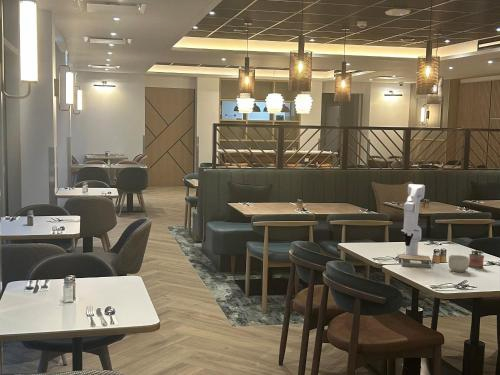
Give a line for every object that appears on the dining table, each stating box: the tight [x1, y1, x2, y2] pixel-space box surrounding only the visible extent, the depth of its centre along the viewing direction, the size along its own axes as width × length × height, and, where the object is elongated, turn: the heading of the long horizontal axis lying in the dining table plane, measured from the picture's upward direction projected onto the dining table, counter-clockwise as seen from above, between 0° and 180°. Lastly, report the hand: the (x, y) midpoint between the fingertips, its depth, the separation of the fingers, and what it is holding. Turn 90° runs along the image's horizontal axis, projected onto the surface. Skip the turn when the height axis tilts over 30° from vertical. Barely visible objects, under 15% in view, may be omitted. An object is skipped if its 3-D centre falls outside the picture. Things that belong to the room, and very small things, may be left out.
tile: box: [410, 260, 422, 264], centre depth 344 cm, size 5×6×2 cm
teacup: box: [448, 254, 469, 273], centre depth 337 cm, size 14×11×8 cm
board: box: [397, 253, 432, 264], centre depth 356 cm, size 12×18×2 cm
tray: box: [400, 259, 432, 269], centre depth 345 cm, size 10×16×2 cm, turn 80°
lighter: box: [468, 249, 485, 270], centre depth 345 cm, size 8×3×10 cm, turn 62°
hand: (407, 245), depth 354 cm, fingers closed
